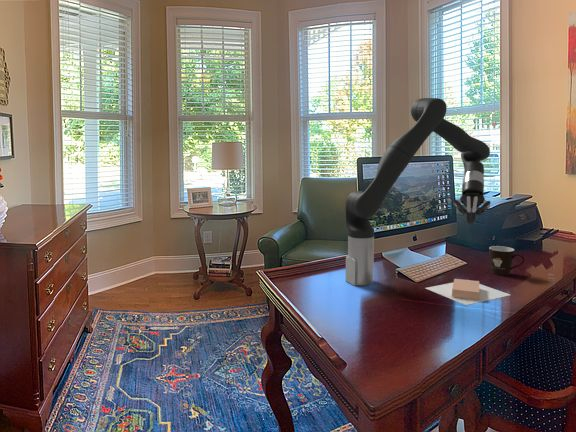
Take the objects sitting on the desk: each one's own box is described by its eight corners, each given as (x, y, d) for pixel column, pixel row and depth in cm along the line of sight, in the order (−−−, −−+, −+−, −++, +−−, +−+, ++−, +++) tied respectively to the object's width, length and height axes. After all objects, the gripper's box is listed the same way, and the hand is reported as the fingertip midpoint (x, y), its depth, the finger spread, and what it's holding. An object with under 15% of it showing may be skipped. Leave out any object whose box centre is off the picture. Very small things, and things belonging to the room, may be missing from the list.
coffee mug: (482, 272, 168) (483, 247, 166) (499, 269, 171) (501, 245, 169) (507, 281, 157) (508, 254, 155) (524, 278, 160) (526, 251, 158)
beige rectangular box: (478, 288, 148) (478, 300, 137) (453, 286, 151) (451, 297, 140) (479, 281, 148) (479, 292, 137) (454, 278, 151) (452, 289, 140)
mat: (465, 306, 134) (465, 305, 134) (424, 289, 150) (424, 288, 150) (511, 296, 142) (511, 294, 142) (467, 281, 158) (467, 279, 158)
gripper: (454, 178, 164) (450, 216, 155) (492, 179, 159) (491, 217, 150) (454, 191, 170) (451, 227, 161) (491, 192, 165) (490, 230, 156)
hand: (470, 222), depth 155 cm, fingers closed
